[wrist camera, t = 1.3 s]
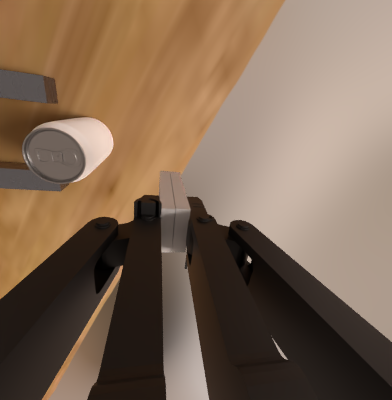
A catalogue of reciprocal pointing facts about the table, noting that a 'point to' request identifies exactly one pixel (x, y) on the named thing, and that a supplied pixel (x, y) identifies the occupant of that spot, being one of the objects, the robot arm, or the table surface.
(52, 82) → the slot guide
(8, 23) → the table surface
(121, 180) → the table surface
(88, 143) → the can
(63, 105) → the table surface
